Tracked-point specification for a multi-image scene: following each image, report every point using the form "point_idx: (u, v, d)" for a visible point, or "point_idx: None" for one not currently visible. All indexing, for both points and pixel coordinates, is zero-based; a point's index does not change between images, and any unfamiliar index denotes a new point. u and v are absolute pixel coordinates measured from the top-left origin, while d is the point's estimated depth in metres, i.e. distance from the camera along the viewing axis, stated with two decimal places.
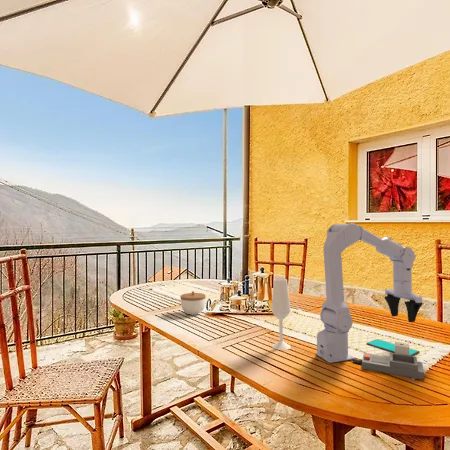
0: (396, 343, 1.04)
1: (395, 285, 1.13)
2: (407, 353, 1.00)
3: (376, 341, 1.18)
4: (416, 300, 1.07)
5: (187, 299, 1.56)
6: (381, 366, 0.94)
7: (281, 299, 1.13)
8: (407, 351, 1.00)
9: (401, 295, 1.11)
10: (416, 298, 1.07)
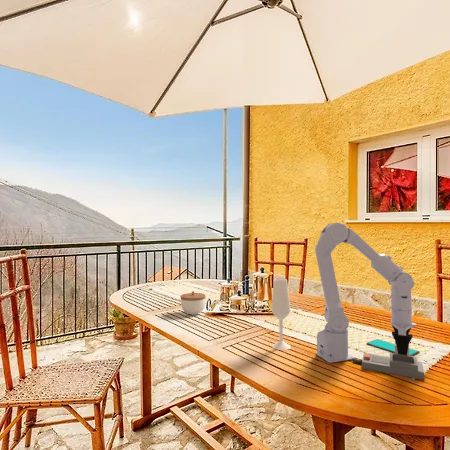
0: None
1: (391, 312, 1.04)
2: (407, 353, 1.00)
3: (376, 341, 1.18)
4: (398, 331, 0.97)
5: (187, 299, 1.56)
6: (381, 366, 0.94)
7: (281, 299, 1.13)
8: None
9: (393, 324, 1.02)
10: (398, 329, 0.97)
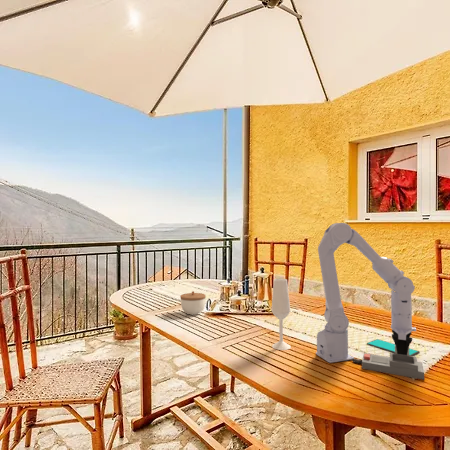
0: None
1: (391, 317, 1.04)
2: (407, 353, 1.00)
3: (376, 341, 1.18)
4: (398, 336, 0.97)
5: (187, 299, 1.56)
6: (381, 366, 0.94)
7: (281, 299, 1.13)
8: None
9: (392, 328, 1.02)
10: (398, 334, 0.97)
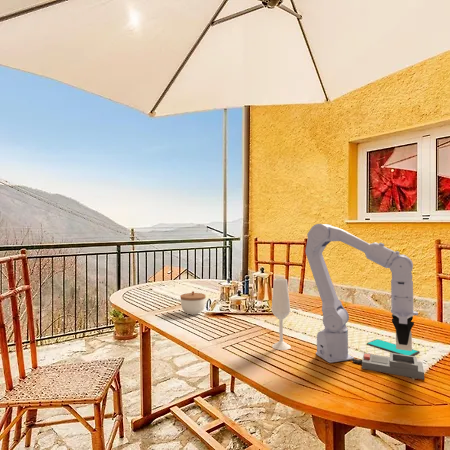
0: None
1: (391, 300, 0.97)
2: (409, 340, 0.93)
3: (376, 341, 1.18)
4: (399, 319, 0.90)
5: (187, 299, 1.56)
6: (381, 366, 0.94)
7: (281, 299, 1.13)
8: (409, 337, 0.93)
9: (393, 312, 0.95)
10: (398, 317, 0.90)
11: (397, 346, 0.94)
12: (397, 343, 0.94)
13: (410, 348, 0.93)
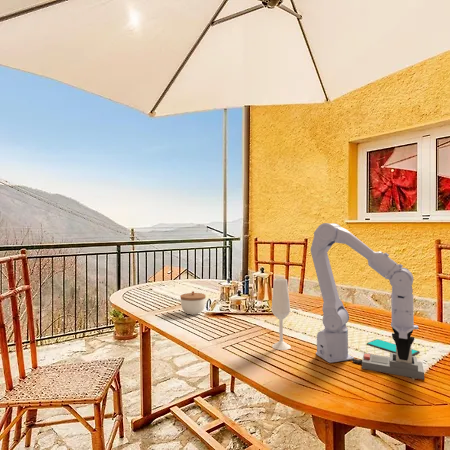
0: None
1: None
2: (409, 356, 0.93)
3: (376, 341, 1.18)
4: (399, 334, 0.90)
5: (187, 299, 1.56)
6: (381, 366, 0.94)
7: (281, 299, 1.13)
8: (409, 354, 0.93)
9: (393, 326, 0.95)
10: (398, 332, 0.90)
11: None
12: (397, 360, 0.94)
13: None
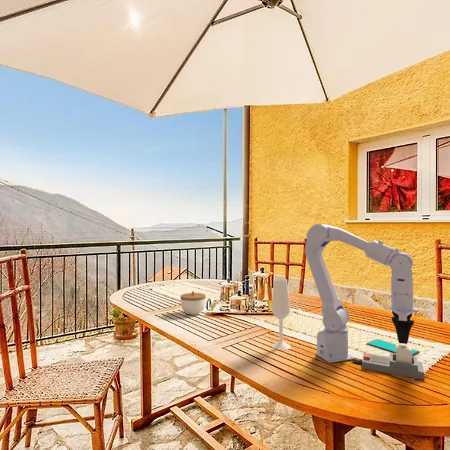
0: (398, 345, 0.96)
1: (391, 297, 0.97)
2: (409, 356, 0.93)
3: (376, 341, 1.18)
4: (398, 316, 0.90)
5: (187, 299, 1.56)
6: (381, 366, 0.94)
7: (281, 299, 1.13)
8: (409, 354, 0.93)
9: (392, 309, 0.95)
10: (398, 314, 0.90)
11: None
12: (397, 360, 0.94)
13: None
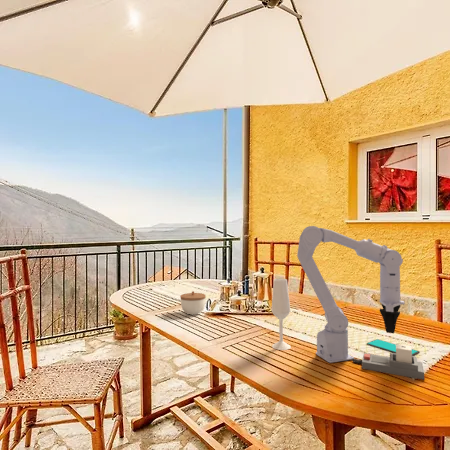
0: (398, 345, 0.96)
1: (380, 291, 1.04)
2: (409, 356, 0.93)
3: (376, 341, 1.18)
4: (385, 308, 0.97)
5: (187, 299, 1.56)
6: (381, 366, 0.94)
7: (281, 299, 1.13)
8: (409, 354, 0.93)
9: (381, 302, 1.02)
10: (385, 306, 0.97)
11: None
12: (397, 360, 0.94)
13: None
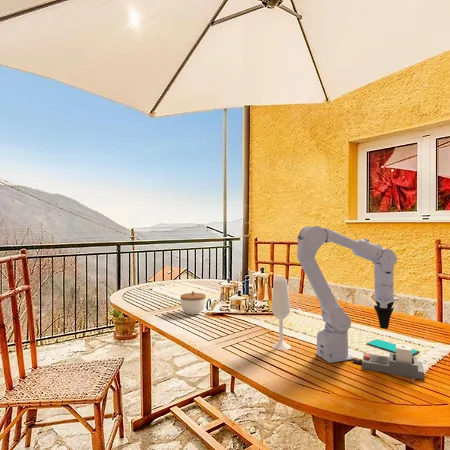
0: (398, 345, 0.96)
1: None
2: (409, 356, 0.93)
3: (376, 341, 1.18)
4: (380, 304, 1.01)
5: (187, 299, 1.56)
6: (381, 366, 0.94)
7: (281, 299, 1.13)
8: (409, 354, 0.93)
9: (375, 299, 1.06)
10: (379, 303, 1.01)
11: None
12: (397, 360, 0.94)
13: None
